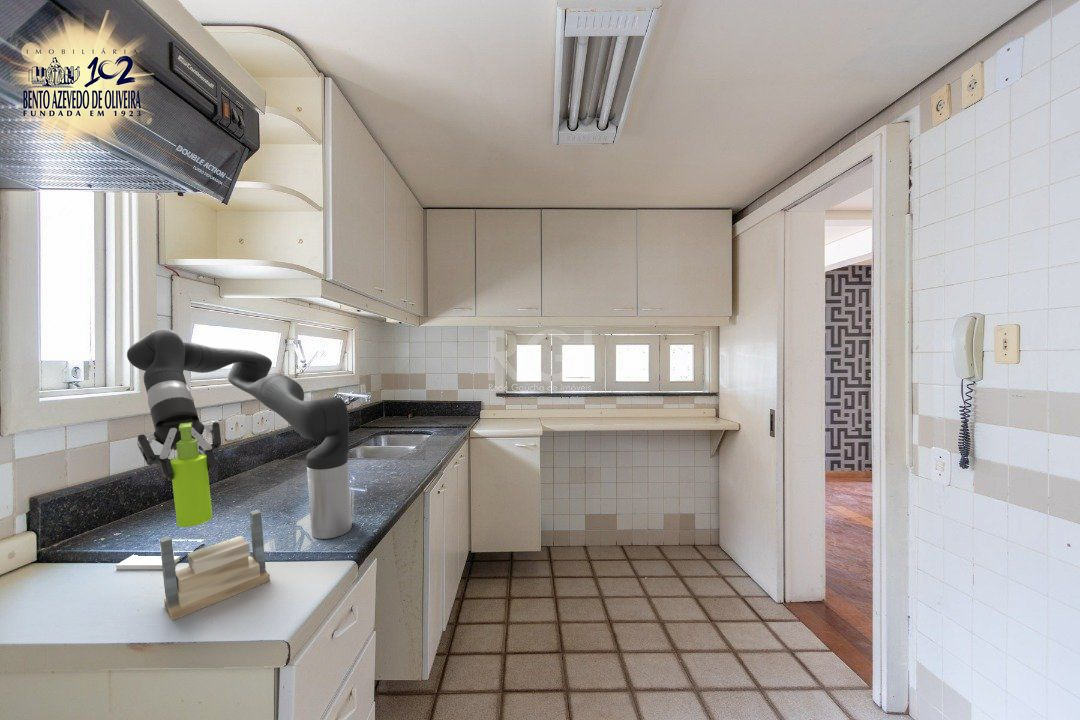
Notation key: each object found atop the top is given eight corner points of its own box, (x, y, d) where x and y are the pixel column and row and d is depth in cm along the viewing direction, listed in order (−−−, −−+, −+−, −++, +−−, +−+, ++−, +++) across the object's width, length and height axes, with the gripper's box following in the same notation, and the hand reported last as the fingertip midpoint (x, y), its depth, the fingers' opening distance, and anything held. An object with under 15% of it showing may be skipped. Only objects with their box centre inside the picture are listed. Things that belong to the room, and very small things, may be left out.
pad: (159, 543, 112) (158, 539, 112) (204, 543, 111) (204, 539, 111) (116, 569, 101) (116, 564, 101) (166, 569, 100) (166, 565, 100)
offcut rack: (164, 606, 88) (156, 535, 86) (259, 570, 100) (254, 506, 98) (172, 620, 84) (164, 545, 82) (269, 580, 96) (264, 514, 94)
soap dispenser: (213, 509, 101) (204, 418, 99) (212, 522, 95) (202, 425, 93) (178, 516, 98) (168, 422, 95) (175, 530, 92) (164, 430, 90)
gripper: (210, 411, 108) (230, 473, 101) (127, 423, 97) (144, 493, 91) (214, 391, 104) (235, 454, 97) (128, 401, 93) (145, 473, 87)
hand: (191, 473), depth 94 cm, fingers closed on soap dispenser, 6 cm apart
